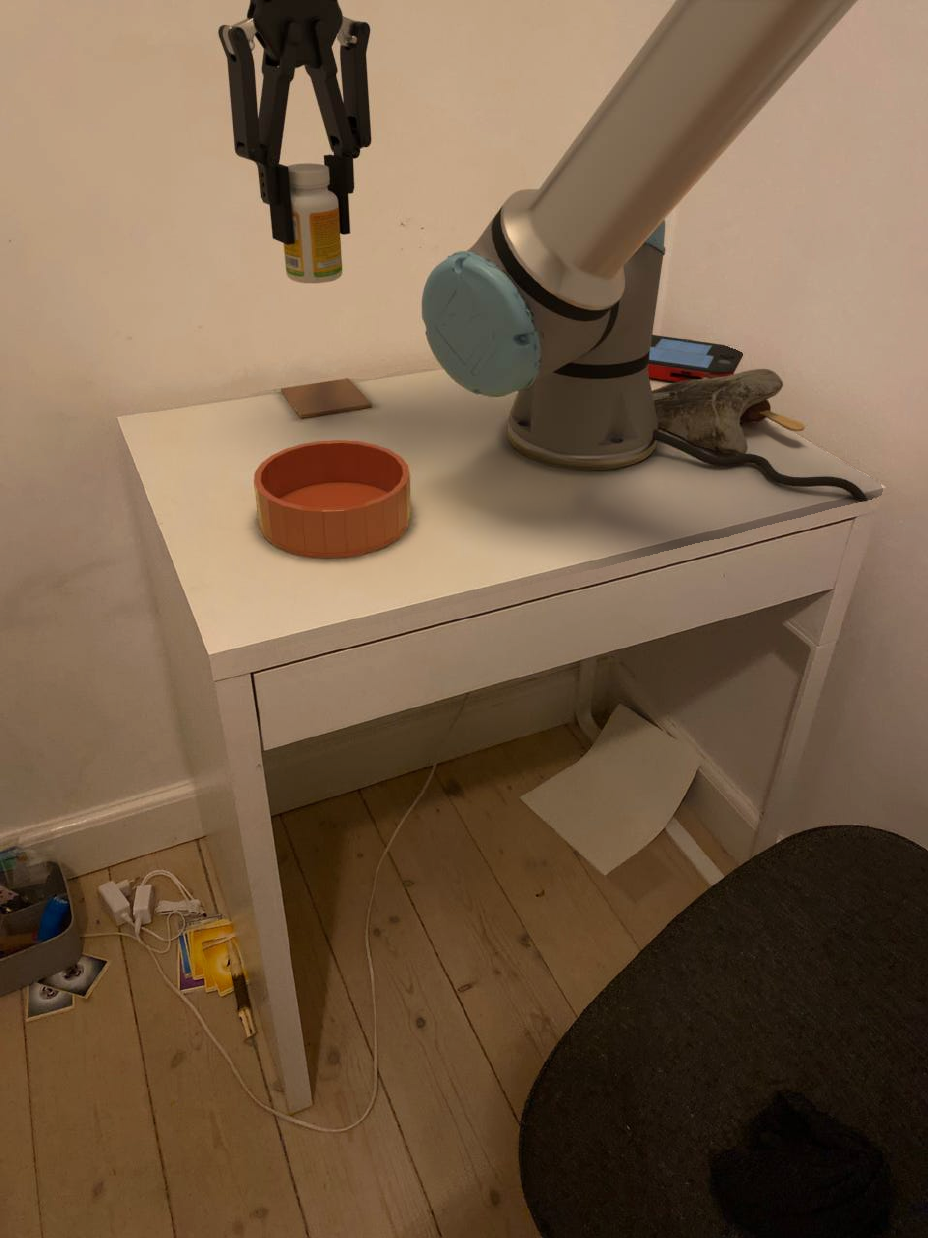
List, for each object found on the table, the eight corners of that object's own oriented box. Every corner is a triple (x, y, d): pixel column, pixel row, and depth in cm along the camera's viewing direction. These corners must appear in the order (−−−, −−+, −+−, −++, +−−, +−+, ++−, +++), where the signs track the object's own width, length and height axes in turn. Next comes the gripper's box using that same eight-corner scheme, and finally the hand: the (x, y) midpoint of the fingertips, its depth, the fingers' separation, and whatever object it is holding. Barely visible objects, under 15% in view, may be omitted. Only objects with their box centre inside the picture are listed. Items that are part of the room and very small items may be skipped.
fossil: (644, 347, 104) (776, 349, 95) (659, 374, 108) (787, 379, 98) (604, 431, 101) (736, 442, 92) (620, 456, 105) (748, 469, 95)
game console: (744, 356, 118) (748, 339, 117) (728, 394, 109) (731, 375, 108) (631, 339, 123) (633, 321, 121) (605, 373, 113) (608, 355, 112)
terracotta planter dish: (434, 500, 87) (434, 455, 84) (367, 572, 77) (365, 524, 74) (308, 473, 91) (304, 429, 88) (229, 538, 81) (222, 491, 79)
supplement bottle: (347, 269, 94) (341, 162, 88) (337, 285, 90) (330, 174, 84) (293, 267, 94) (283, 160, 89) (280, 283, 90) (270, 172, 84)
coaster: (348, 381, 110) (348, 377, 110) (372, 407, 104) (371, 403, 104) (281, 391, 107) (280, 388, 107) (301, 418, 101) (300, 415, 101)
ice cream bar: (772, 452, 96) (679, 400, 107) (811, 443, 98) (715, 393, 109) (779, 421, 94) (683, 372, 105) (818, 414, 96) (721, 365, 107)
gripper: (359, -67, 83) (370, 214, 97) (161, -70, 74) (204, 242, 87) (410, -66, 79) (414, 229, 92) (205, -69, 69) (243, 260, 83)
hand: (311, 235), depth 90 cm, fingers closed on supplement bottle, 5 cm apart
